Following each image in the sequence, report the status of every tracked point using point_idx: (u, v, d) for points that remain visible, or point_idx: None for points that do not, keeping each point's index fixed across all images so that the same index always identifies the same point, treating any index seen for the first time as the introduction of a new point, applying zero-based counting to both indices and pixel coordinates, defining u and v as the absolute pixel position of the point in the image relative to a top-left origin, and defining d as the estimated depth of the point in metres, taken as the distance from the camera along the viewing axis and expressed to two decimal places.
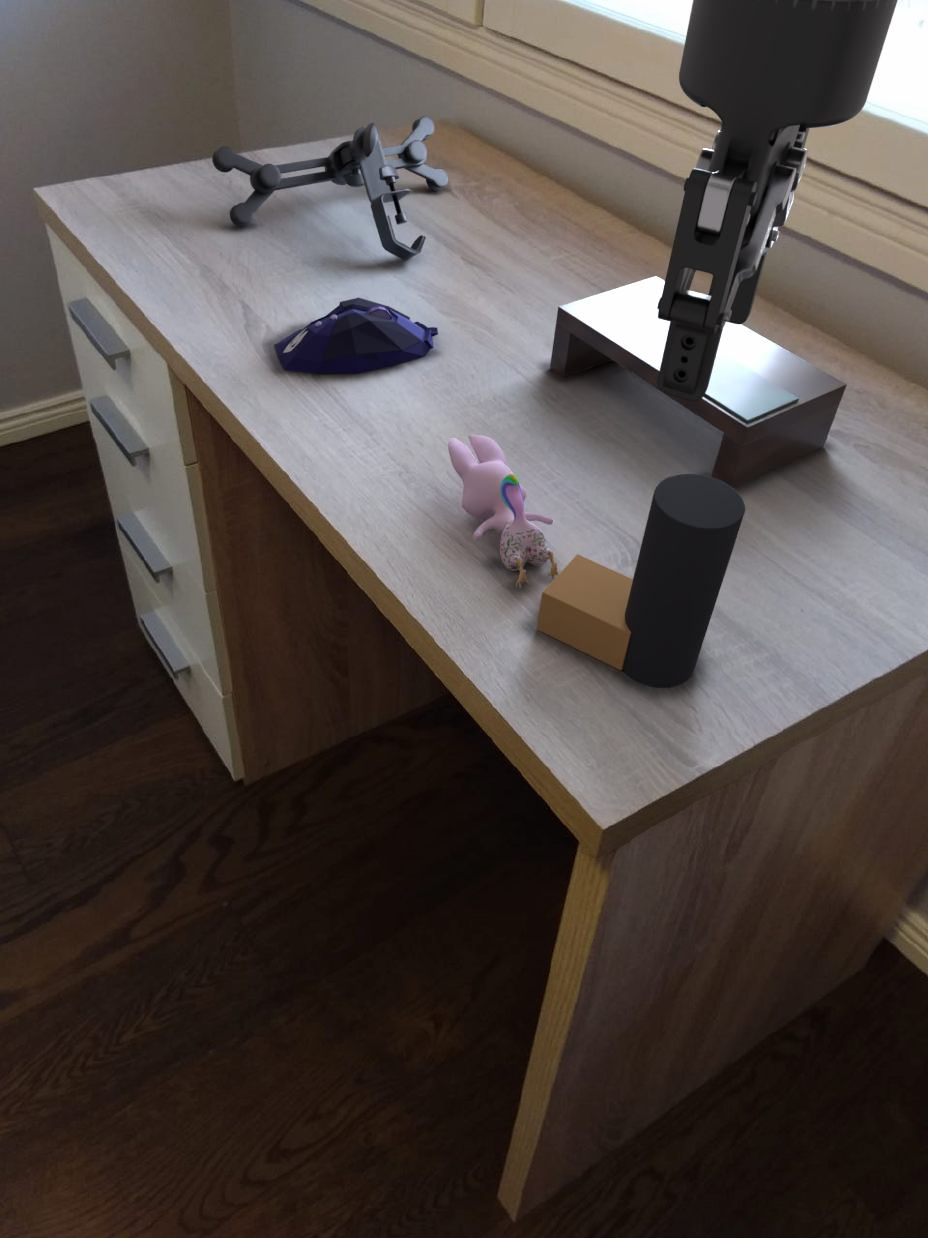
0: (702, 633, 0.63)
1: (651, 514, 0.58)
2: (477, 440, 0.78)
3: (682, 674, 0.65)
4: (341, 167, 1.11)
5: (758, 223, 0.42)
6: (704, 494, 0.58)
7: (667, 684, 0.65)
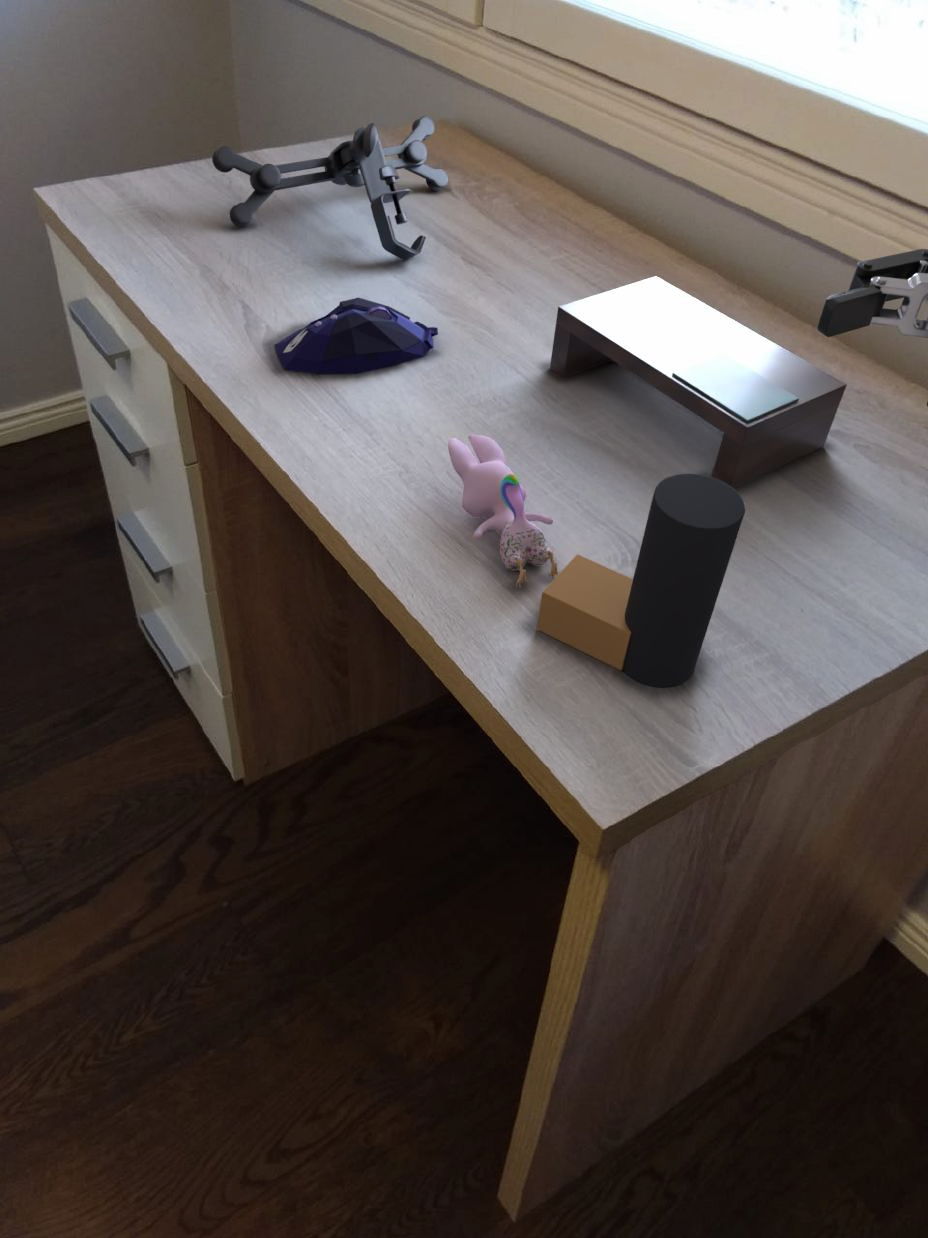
0: (702, 633, 0.63)
1: (651, 514, 0.58)
2: (477, 440, 0.78)
3: (682, 674, 0.65)
4: (341, 167, 1.11)
5: None
6: (704, 494, 0.58)
7: (667, 684, 0.65)
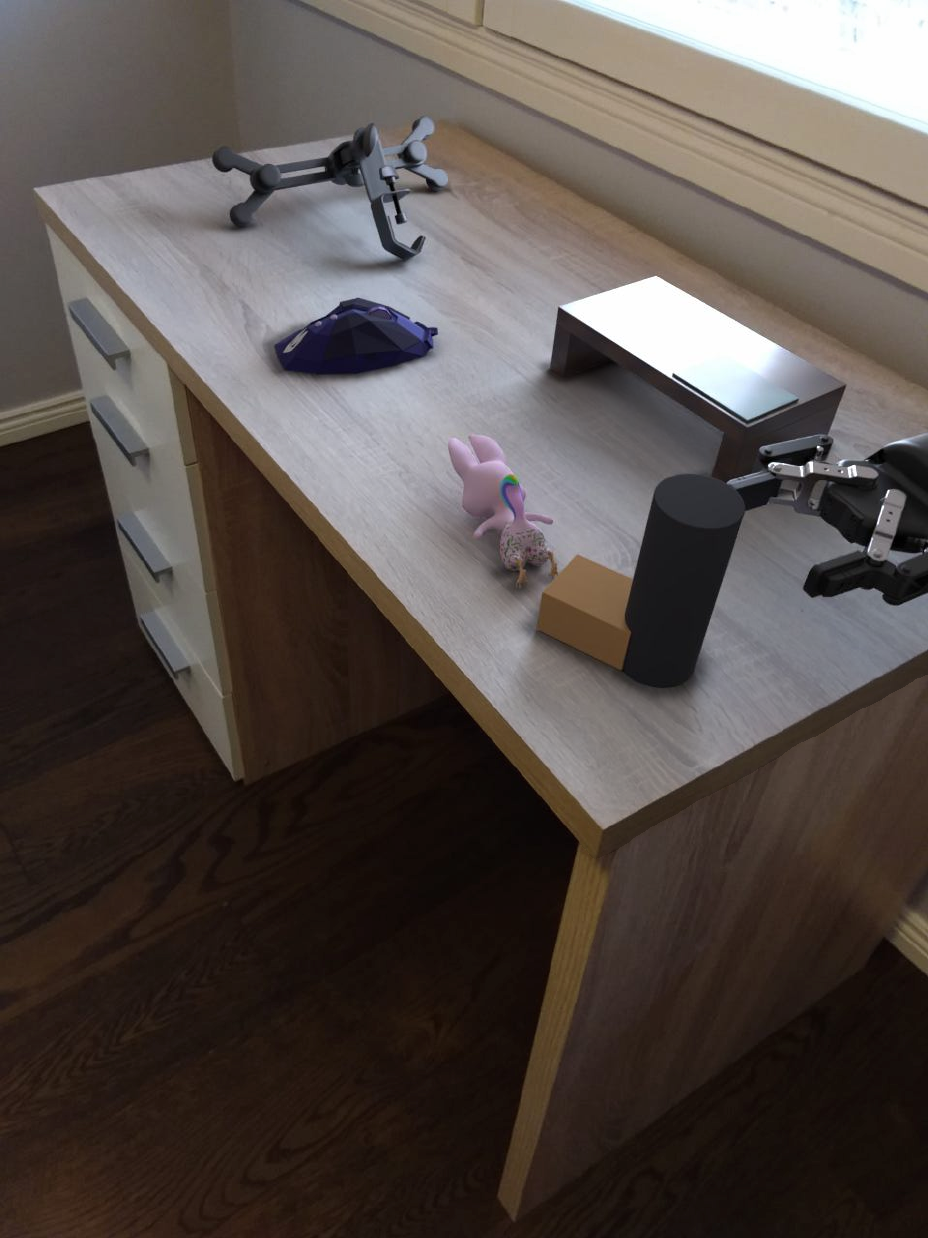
0: (702, 633, 0.63)
1: (651, 514, 0.58)
2: (477, 440, 0.78)
3: (682, 674, 0.65)
4: (341, 167, 1.11)
5: None
6: (704, 494, 0.58)
7: (667, 684, 0.65)
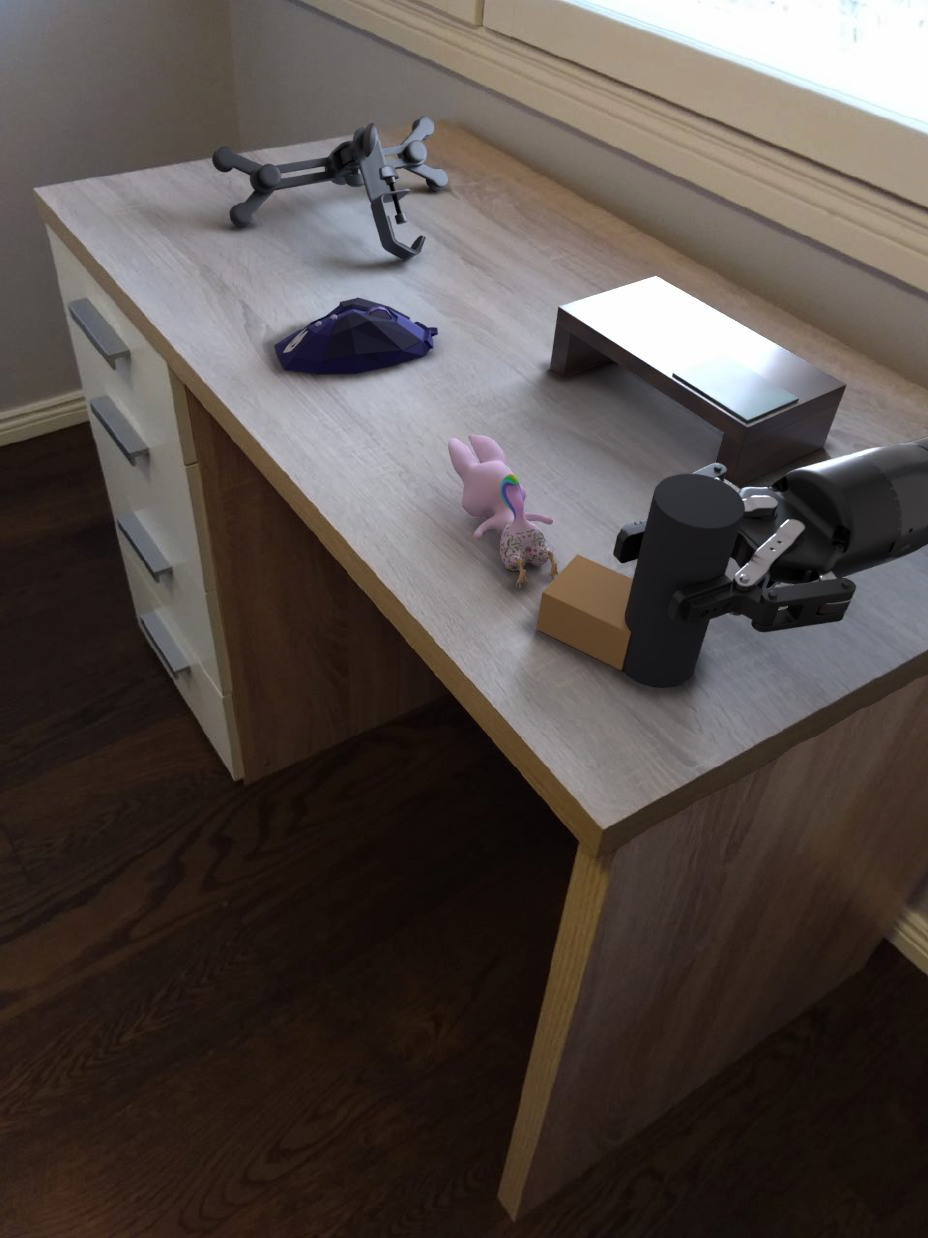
0: (702, 633, 0.63)
1: (651, 514, 0.58)
2: (477, 440, 0.78)
3: (682, 674, 0.65)
4: (341, 167, 1.11)
5: None
6: (704, 494, 0.58)
7: (667, 684, 0.65)
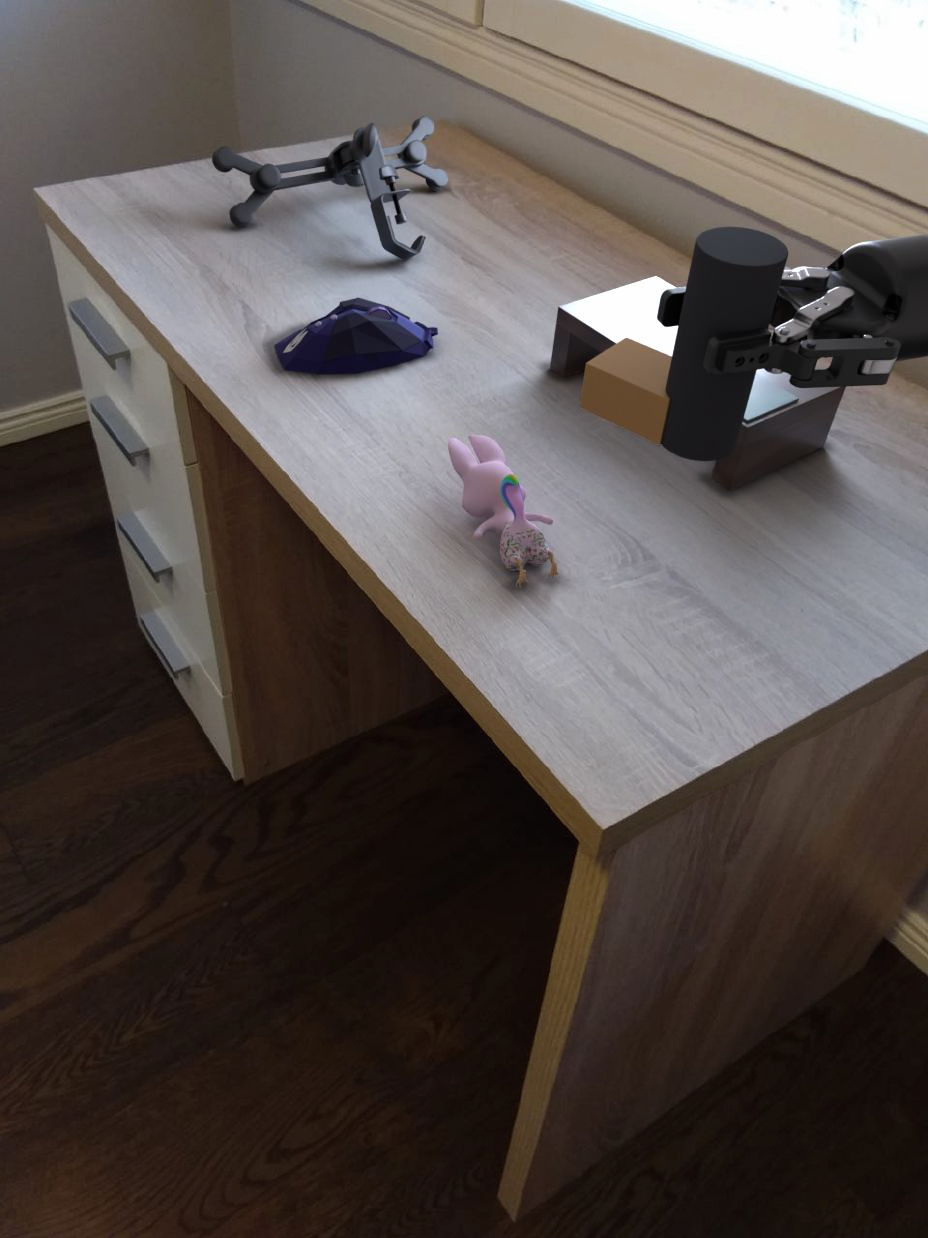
0: (741, 400, 0.62)
1: (692, 260, 0.58)
2: (477, 440, 0.78)
3: (720, 447, 0.64)
4: (341, 167, 1.11)
5: None
6: (748, 241, 0.58)
7: (704, 458, 0.65)
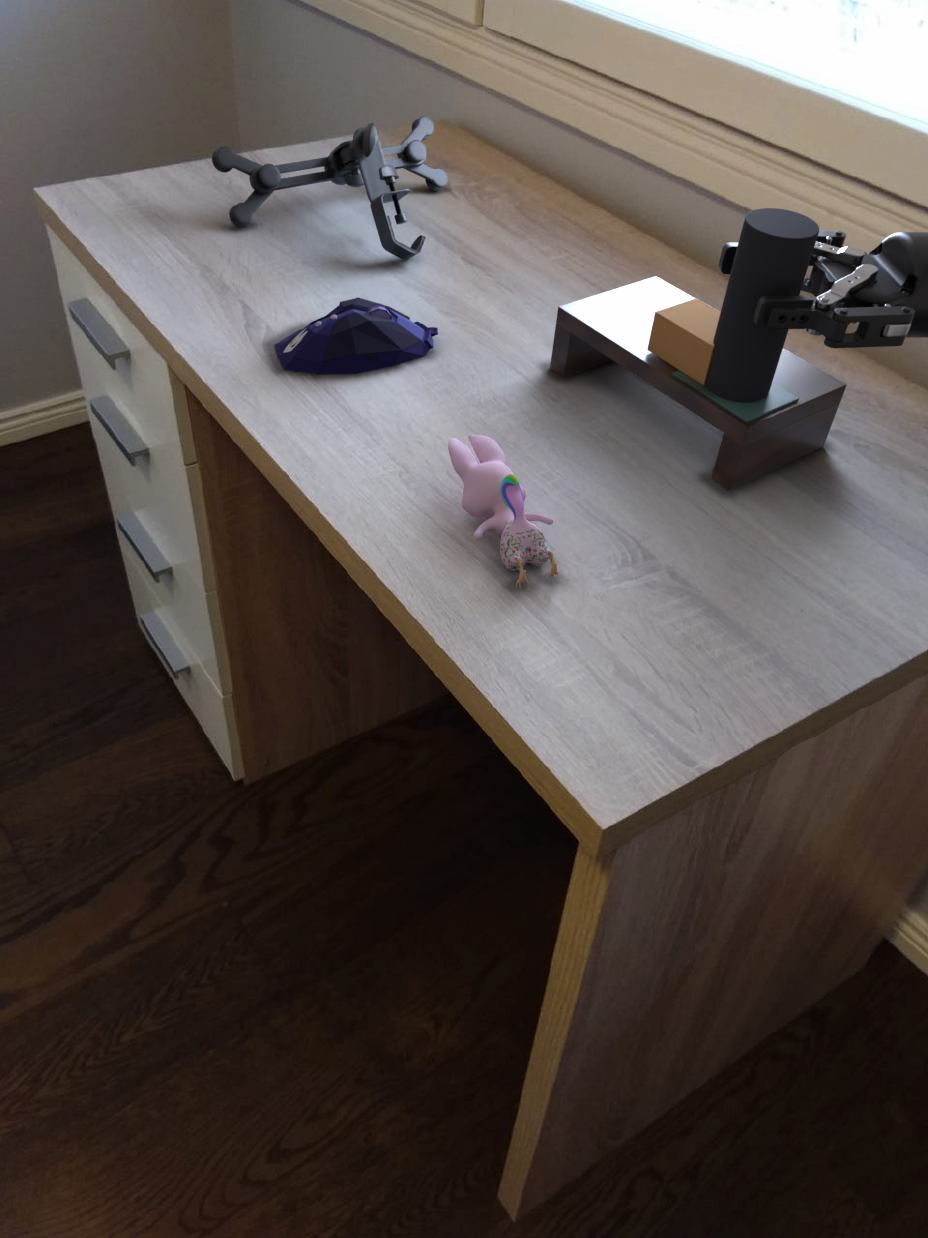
0: (771, 352, 0.76)
1: None
2: (477, 440, 0.78)
3: (750, 391, 0.78)
4: (341, 167, 1.11)
5: None
6: (788, 220, 0.72)
7: (736, 398, 0.79)
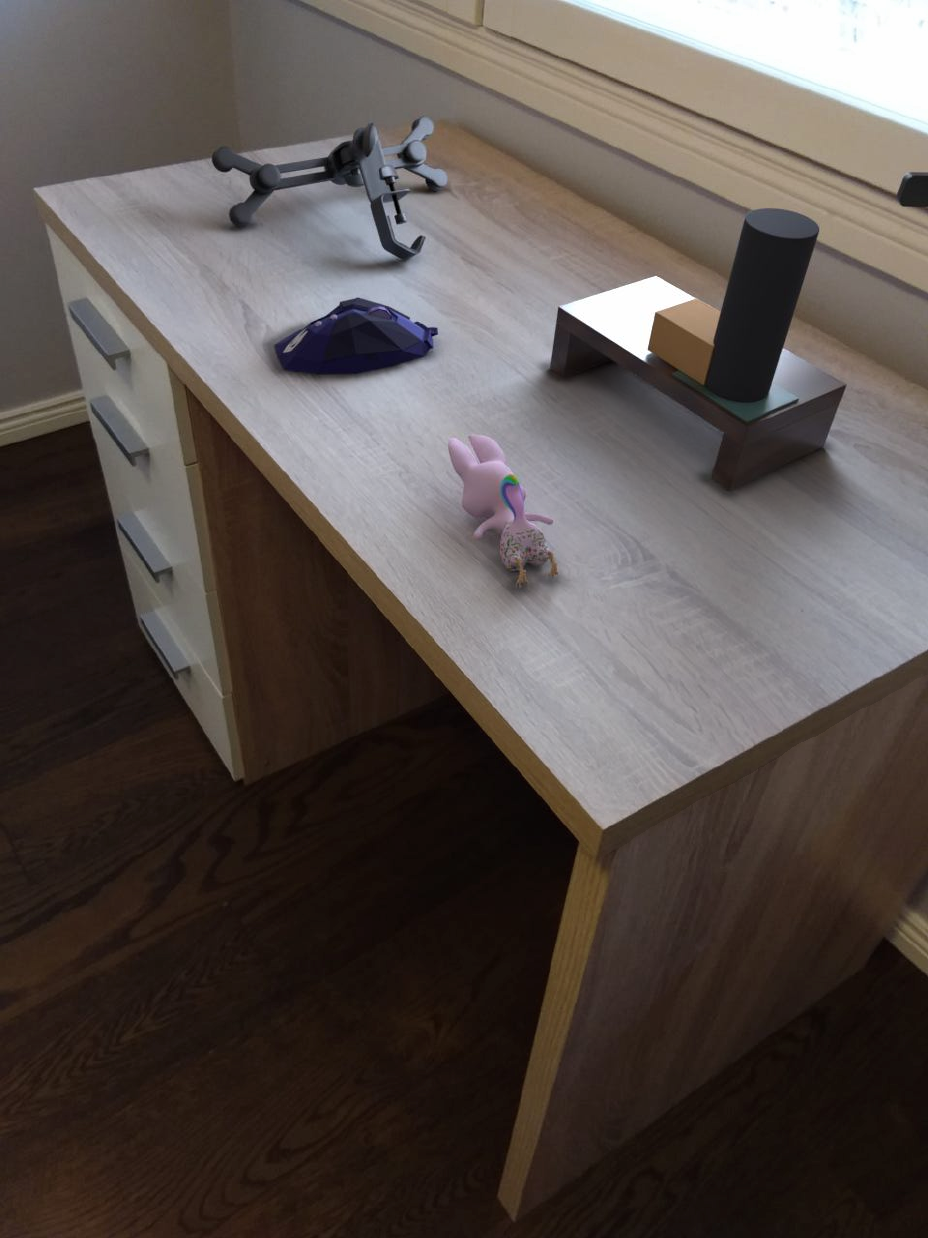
0: (771, 352, 0.76)
1: None
2: (477, 440, 0.78)
3: (750, 391, 0.78)
4: (341, 167, 1.11)
5: None
6: (788, 220, 0.72)
7: (736, 398, 0.79)
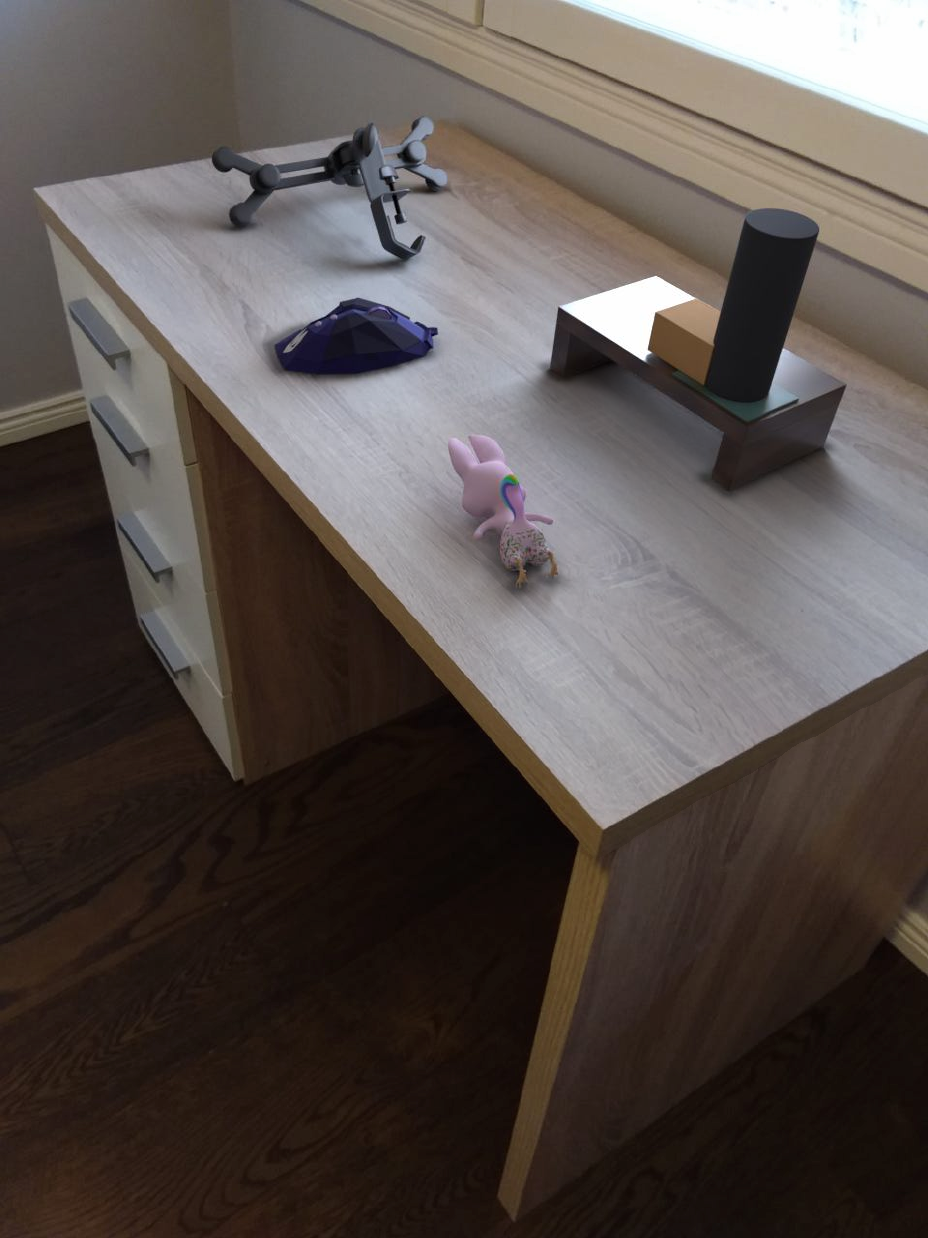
0: (771, 352, 0.76)
1: None
2: (477, 440, 0.78)
3: (750, 391, 0.78)
4: (340, 167, 1.11)
5: None
6: (788, 220, 0.72)
7: (736, 398, 0.79)
